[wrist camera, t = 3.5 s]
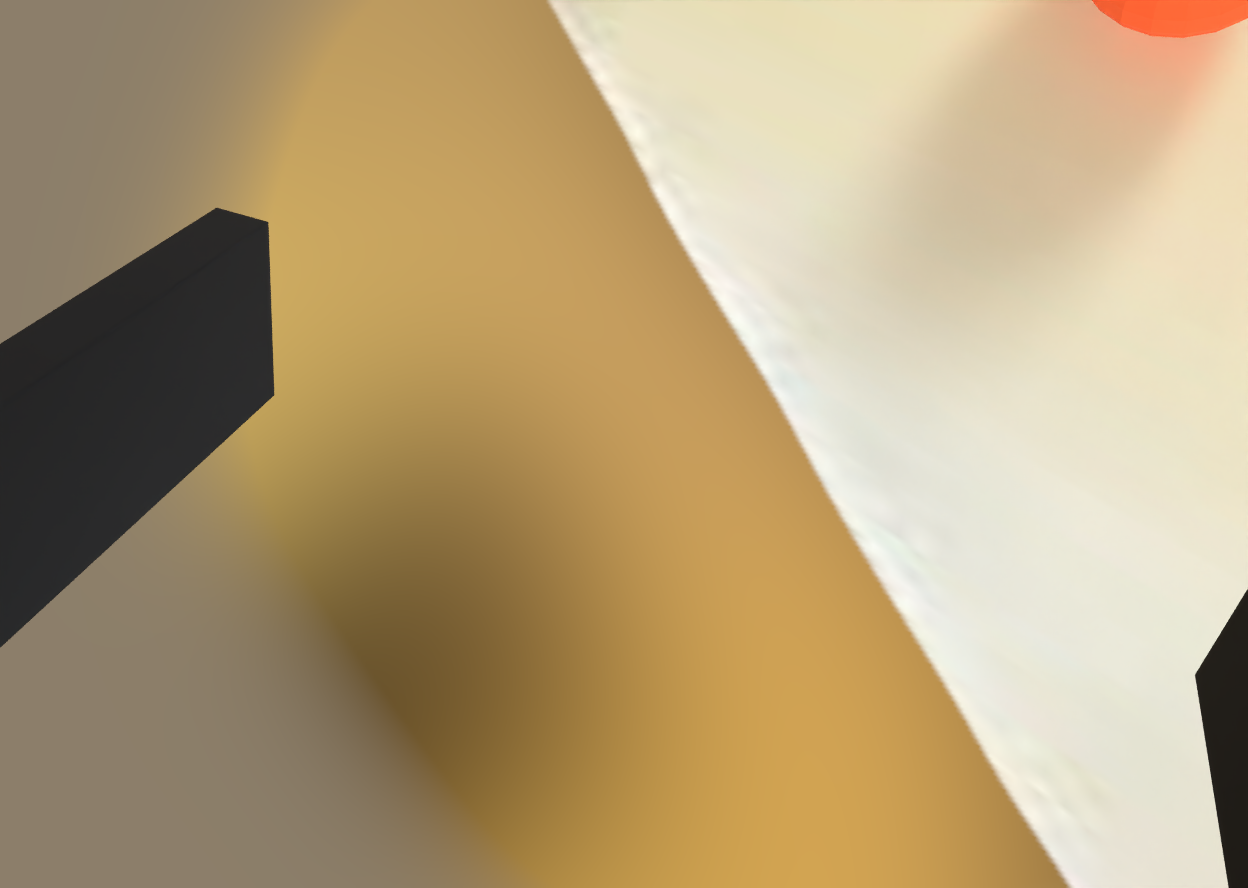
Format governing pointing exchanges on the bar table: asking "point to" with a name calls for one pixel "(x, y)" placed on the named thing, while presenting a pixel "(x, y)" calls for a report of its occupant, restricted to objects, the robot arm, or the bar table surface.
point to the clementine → (1175, 15)
